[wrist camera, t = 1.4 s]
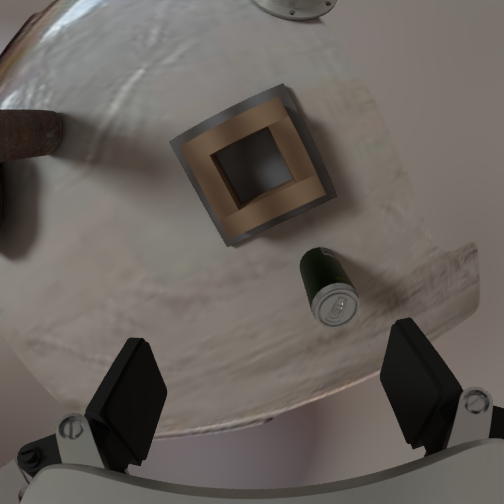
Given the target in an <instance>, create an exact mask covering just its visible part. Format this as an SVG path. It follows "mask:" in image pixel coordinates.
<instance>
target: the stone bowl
mask: <svg viewBox="0 0 504 504" xmlns="http://www.w3.org/2000/svg"><path fill="white" fill-rule="evenodd" d="M0 165H1V162H0ZM0 178H1V177H0ZM2 212H3V194H2V186H1V179H0V226H1V222H2Z"/></svg>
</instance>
